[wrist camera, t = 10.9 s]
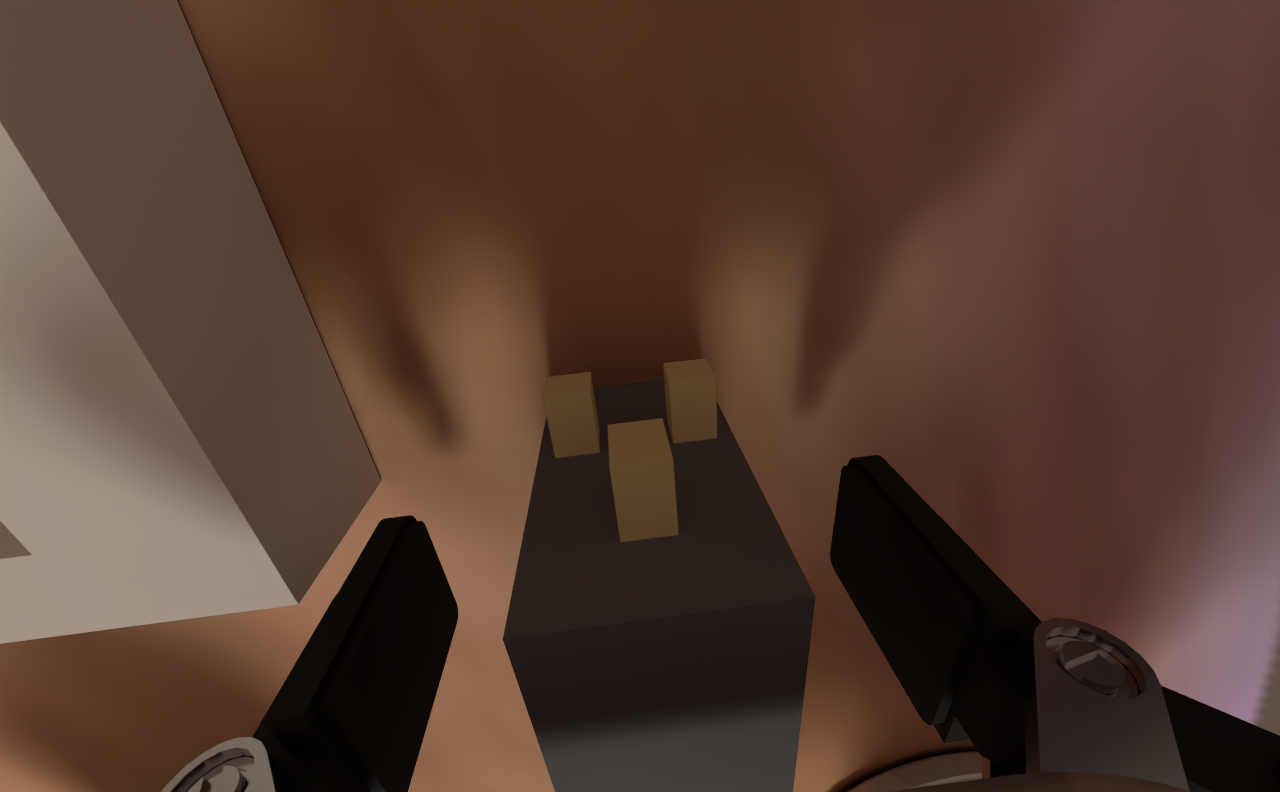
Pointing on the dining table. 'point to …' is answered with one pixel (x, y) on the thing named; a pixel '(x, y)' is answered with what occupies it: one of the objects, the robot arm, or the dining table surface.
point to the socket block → (150, 343)
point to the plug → (656, 597)
